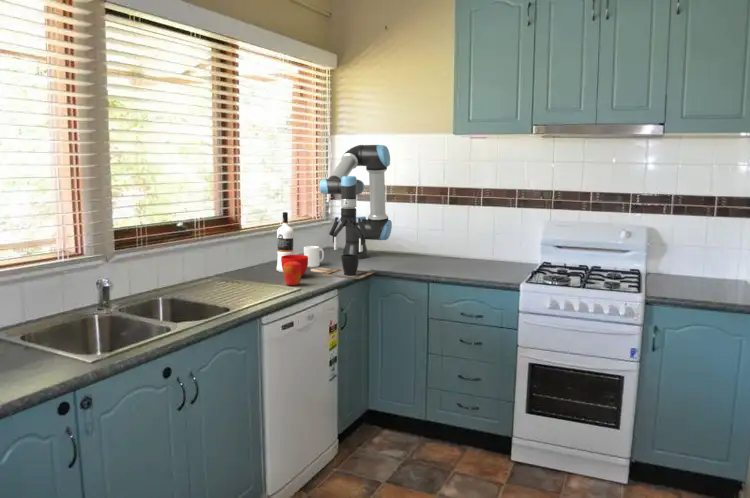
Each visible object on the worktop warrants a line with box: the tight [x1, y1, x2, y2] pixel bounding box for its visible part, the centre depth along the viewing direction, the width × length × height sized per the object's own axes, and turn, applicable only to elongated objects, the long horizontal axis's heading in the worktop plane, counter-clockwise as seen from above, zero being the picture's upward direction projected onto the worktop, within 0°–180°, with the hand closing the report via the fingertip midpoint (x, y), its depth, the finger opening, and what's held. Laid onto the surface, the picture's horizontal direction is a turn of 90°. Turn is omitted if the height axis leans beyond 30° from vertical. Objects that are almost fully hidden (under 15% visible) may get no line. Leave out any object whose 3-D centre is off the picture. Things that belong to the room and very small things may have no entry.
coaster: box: [309, 267, 333, 274], centre depth 320 cm, size 11×11×1 cm
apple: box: [283, 259, 302, 286], centre depth 283 cm, size 9×8×12 cm
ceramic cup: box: [281, 254, 308, 278], centre depth 303 cm, size 13×17×10 cm
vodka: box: [276, 211, 295, 273], centre depth 315 cm, size 9×9×30 cm
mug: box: [341, 254, 360, 276], centre depth 311 cm, size 8×12×10 cm
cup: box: [303, 245, 325, 268], centre depth 334 cm, size 8×12×10 cm
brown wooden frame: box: [320, 267, 376, 280], centre depth 311 cm, size 19×21×1 cm
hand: (348, 250), depth 309 cm, fingers open, 13 cm apart
